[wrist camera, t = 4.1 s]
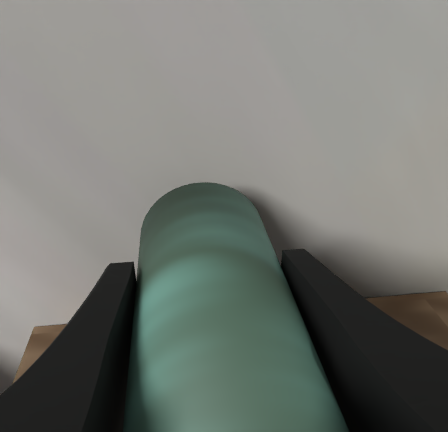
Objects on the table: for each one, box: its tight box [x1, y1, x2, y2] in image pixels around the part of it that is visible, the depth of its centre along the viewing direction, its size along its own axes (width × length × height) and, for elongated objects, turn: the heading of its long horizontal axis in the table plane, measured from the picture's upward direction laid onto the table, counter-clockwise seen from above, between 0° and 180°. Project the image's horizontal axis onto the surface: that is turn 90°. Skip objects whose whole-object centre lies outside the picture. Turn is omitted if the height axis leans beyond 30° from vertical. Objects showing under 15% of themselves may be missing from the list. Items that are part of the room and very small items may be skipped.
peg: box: [123, 183, 349, 432], centre depth 10 cm, size 4×4×8 cm
